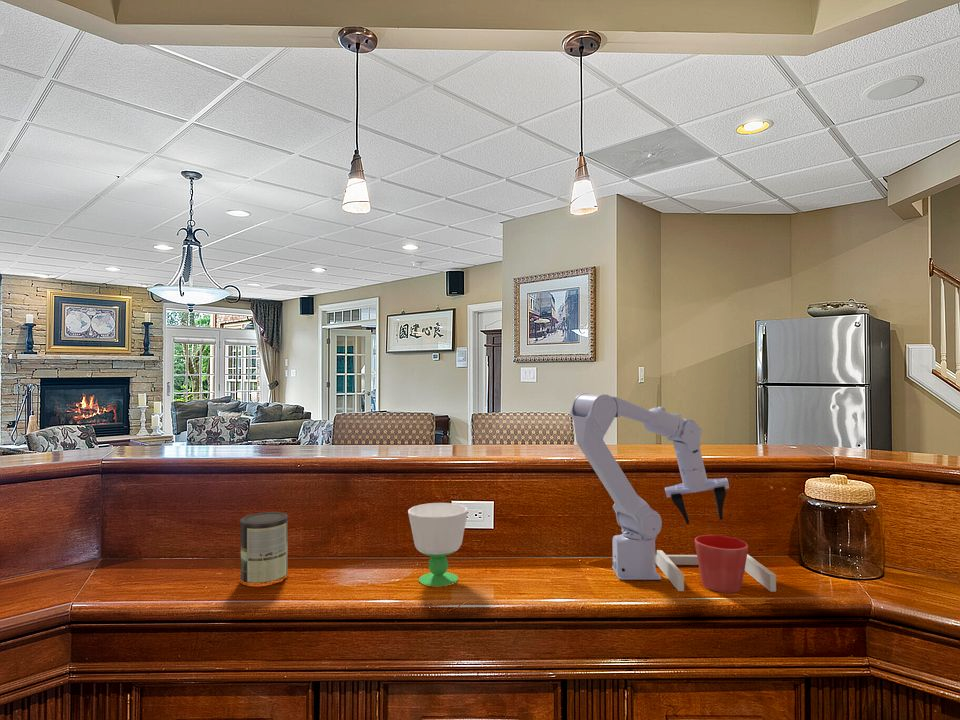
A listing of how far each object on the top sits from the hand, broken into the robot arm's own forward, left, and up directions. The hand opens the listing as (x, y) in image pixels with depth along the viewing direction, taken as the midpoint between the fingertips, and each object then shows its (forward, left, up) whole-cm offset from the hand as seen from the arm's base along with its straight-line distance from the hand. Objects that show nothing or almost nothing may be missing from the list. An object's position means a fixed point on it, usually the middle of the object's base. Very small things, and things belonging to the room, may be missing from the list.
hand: (704, 520), depth 137 cm
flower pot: (-1, -14, -11) cm, 18 cm away
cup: (-63, -11, -11) cm, 65 cm away
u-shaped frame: (-1, -9, -11) cm, 14 cm away
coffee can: (-103, -11, -11) cm, 105 cm away
